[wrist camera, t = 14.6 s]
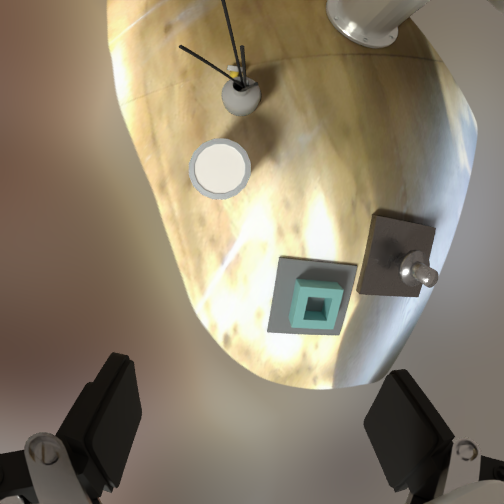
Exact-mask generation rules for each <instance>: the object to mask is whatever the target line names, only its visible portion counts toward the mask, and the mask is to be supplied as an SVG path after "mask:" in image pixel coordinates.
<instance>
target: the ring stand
mask: <svg viewBox="0 0 504 504" xmlns="http://www.w3.org/2000/svg"><path fill="white" fill-rule="evenodd" d="M435 230H436V228H434V227H431V226H427V225H422V224H418V223H413V222H408V221H403V220H399V219H394V218H389V217H383V216H378V215H373V214H372V219H371V225H370V230H369V235H368V240H367V245H366V250H365V255H364V259H363V264H362V268H361V273H360V277H359V281H358V285H357V289H356V291H357V292H358V293H359V294H365V295H382V296H402V297H419V294H420V290H421V287H422V284H424V285H425V286H427V287H429V288H430V287H433V286H434V285H435V284H436V283H437V281H438V272H437V271H436V270H434V269H432V268H430V263H429V257H430V253H431V249H432V244H433V240H434V235H435Z"/></svg>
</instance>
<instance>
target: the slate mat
mask: <svg viewBox="0 0 504 504" xmlns="http://www.w3.org/2000/svg"><path fill="white" fill-rule="evenodd" d="M356 270H357V266H356V265H347V264H337V263H328V262H318V261H309V260H300V259H290V258H281V257H279V262H278V269H277V275H276V281H275V287H274V294H273V300H272V306H271V311H270V317H269V323H268V329H267V332H272V333H288V334H309V335H339V334H340V331H341V327H342V324H343V321H344V317H345V313H346V310H347V306H348V302H349V299H350V295H351V291H352V287H353V283H354V278H355V274H356ZM296 279H306V280H317V281H328V282H337V283H338V284H339V285H340V286H341V287H342V289H343V290H344V291H343V295H342V299H341V303H340V307H339V311H338V314H337V318H336V322H335V325H334V329H309V328H292V327H291V324H290V321H289V313H290V308H291V303H292V298H293V293H294V287H295V282H296ZM324 299H325V298H318V297H308V300H307V305H306V309H305V311H320V312H322V307H323V303H324Z"/></svg>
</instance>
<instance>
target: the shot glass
mask: <svg viewBox="0 0 504 504" xmlns="http://www.w3.org/2000/svg"><path fill="white" fill-rule="evenodd" d="M250 175H251V162H250V160H249V157H248V155H247V152H246V151H245V150H244V149H243V148H242V147H241V146H240V145H239V144H238V143H236V142H234V141H231V140H229V139H212V140H210V141H207V142H205V143H203V144H202V145H201V146H200V147H199V148H197V149H196V150H195V151H194V153H193V155H192V158H191V160H190V162H189V177H190V179H191V182H192V184H193V186H194V187H195V188H196V189H197V190H198V191H199V192H200V193H201V194H202V195H204V196H206V197H209V198H211V199H227V198H230V197H232V196H235V195H237V194H238V193H239V192H240V191H241V190H242V189H243V188H244V187H245V186H246V184H247V182H248V180H249V178H250Z"/></svg>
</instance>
